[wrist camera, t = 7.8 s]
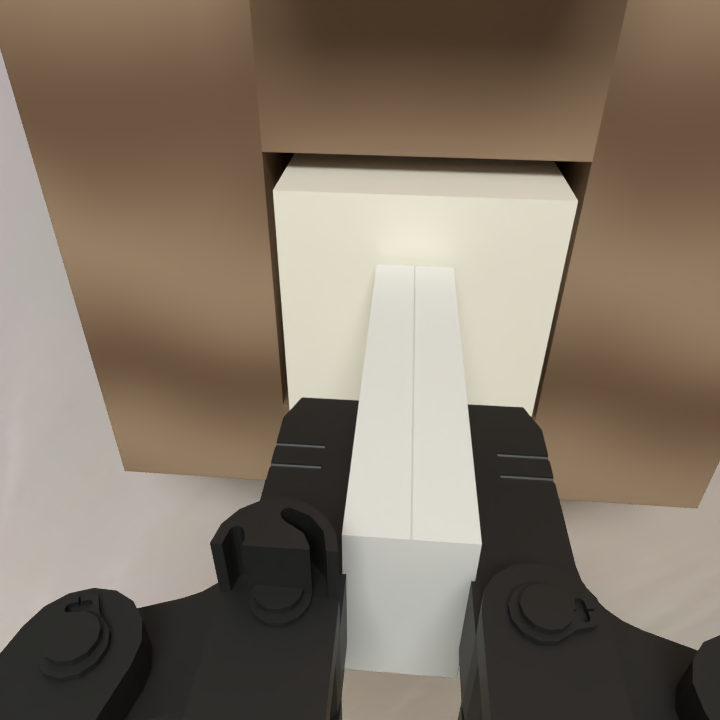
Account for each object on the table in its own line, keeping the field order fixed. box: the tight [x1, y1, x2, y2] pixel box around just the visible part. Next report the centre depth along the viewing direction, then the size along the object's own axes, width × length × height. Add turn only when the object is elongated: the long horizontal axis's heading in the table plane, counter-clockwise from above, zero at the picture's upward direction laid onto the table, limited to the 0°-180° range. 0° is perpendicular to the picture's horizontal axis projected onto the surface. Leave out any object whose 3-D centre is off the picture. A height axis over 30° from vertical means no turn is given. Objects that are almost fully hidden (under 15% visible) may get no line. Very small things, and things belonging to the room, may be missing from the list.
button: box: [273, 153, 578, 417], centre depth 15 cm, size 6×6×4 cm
